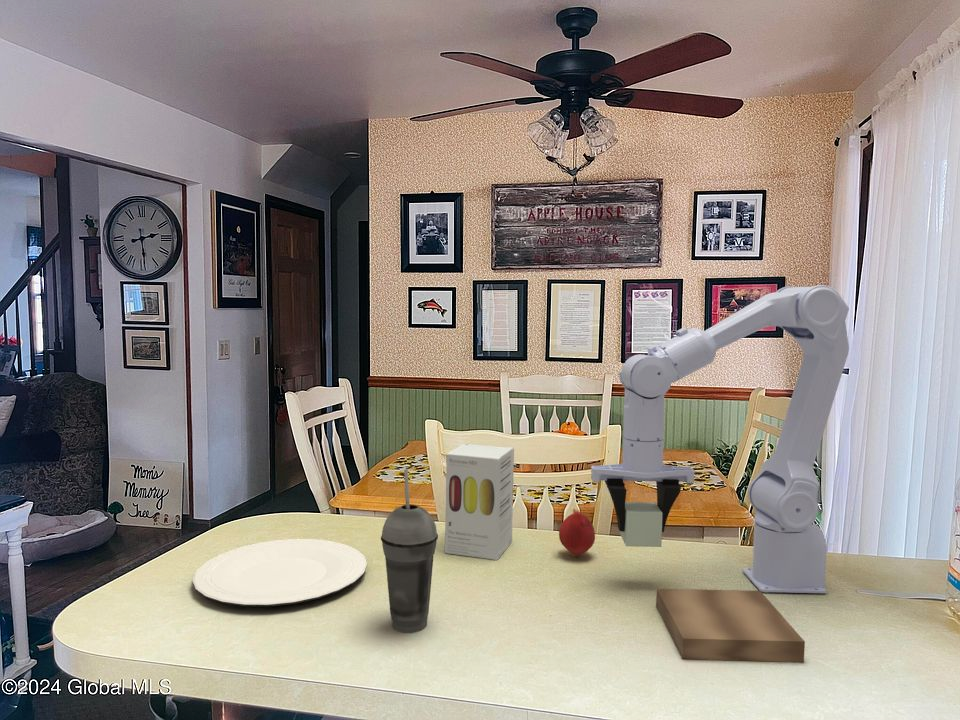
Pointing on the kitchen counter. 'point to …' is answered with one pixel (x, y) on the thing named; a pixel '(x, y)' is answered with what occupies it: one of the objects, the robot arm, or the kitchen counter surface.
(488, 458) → the supplement box
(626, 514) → the sage block
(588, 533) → the onion
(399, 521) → the beverage cup
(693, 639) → the walnut base
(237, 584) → the plate
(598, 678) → the kitchen counter surface
